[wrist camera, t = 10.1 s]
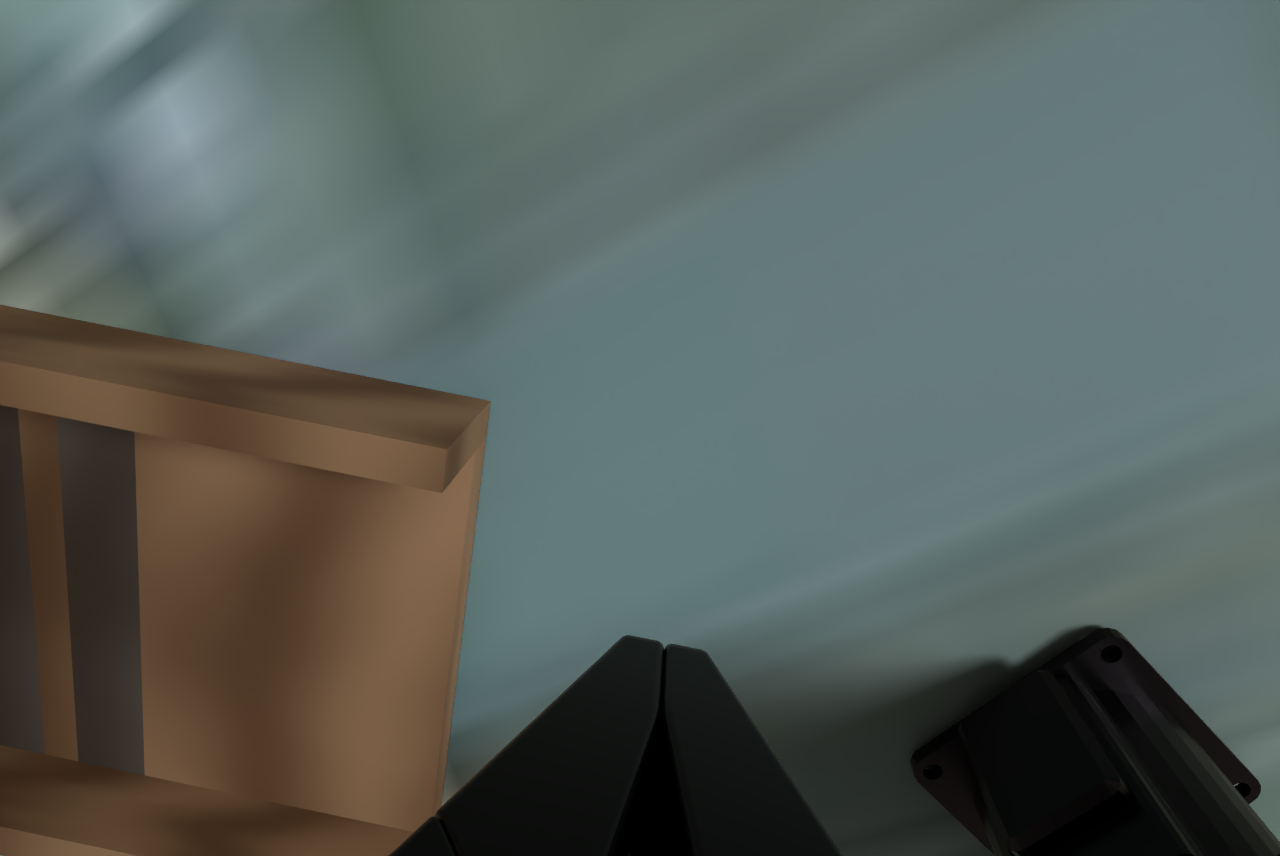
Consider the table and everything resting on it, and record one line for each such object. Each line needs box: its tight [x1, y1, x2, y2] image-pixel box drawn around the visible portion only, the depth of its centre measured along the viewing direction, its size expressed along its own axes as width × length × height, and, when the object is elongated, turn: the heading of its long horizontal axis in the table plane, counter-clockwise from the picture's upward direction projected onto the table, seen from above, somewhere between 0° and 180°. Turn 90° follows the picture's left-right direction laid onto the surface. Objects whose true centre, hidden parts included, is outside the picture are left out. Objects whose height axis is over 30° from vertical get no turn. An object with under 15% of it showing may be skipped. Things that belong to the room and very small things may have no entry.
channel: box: [0, 305, 491, 856], centre depth 21 cm, size 23×14×4 cm, turn 80°
